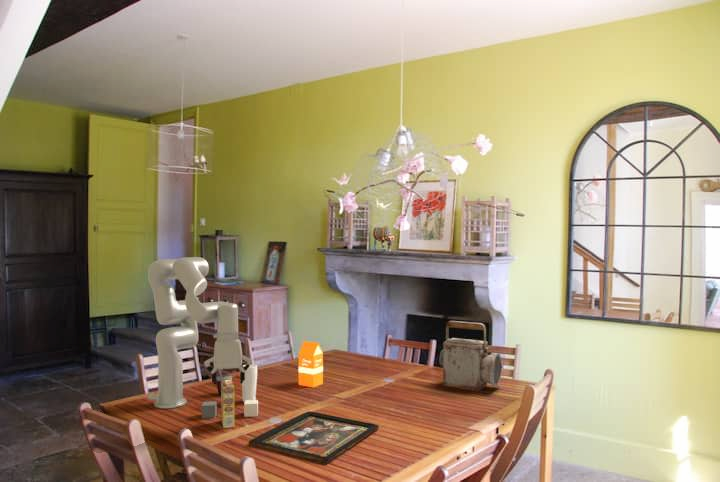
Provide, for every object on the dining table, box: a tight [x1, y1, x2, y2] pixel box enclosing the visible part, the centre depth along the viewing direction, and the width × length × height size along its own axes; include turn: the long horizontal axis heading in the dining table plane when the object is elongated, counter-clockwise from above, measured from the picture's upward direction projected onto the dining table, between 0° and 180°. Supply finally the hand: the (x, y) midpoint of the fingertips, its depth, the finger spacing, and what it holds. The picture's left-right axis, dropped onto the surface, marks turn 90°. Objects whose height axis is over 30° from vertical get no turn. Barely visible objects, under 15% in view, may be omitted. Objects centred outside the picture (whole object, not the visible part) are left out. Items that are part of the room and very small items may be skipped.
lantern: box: [438, 320, 503, 392], centre depth 254 cm, size 16×27×30 cm, turn 60°
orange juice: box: [298, 340, 324, 388], centre depth 256 cm, size 8×9×20 cm
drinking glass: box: [241, 363, 258, 403], centre depth 228 cm, size 7×7×15 cm
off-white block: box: [243, 399, 259, 418], centre depth 212 cm, size 5×5×5 cm
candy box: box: [220, 379, 235, 429], centre depth 201 cm, size 9×4×15 cm, turn 20°
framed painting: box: [248, 411, 380, 465], centre depth 188 cm, size 38×35×3 cm
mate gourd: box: [211, 361, 234, 397], centre depth 239 cm, size 8×8×15 cm
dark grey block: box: [201, 400, 218, 419], centre depth 210 cm, size 5×5×5 cm
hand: (228, 383), depth 200 cm, fingers open, 9 cm apart
